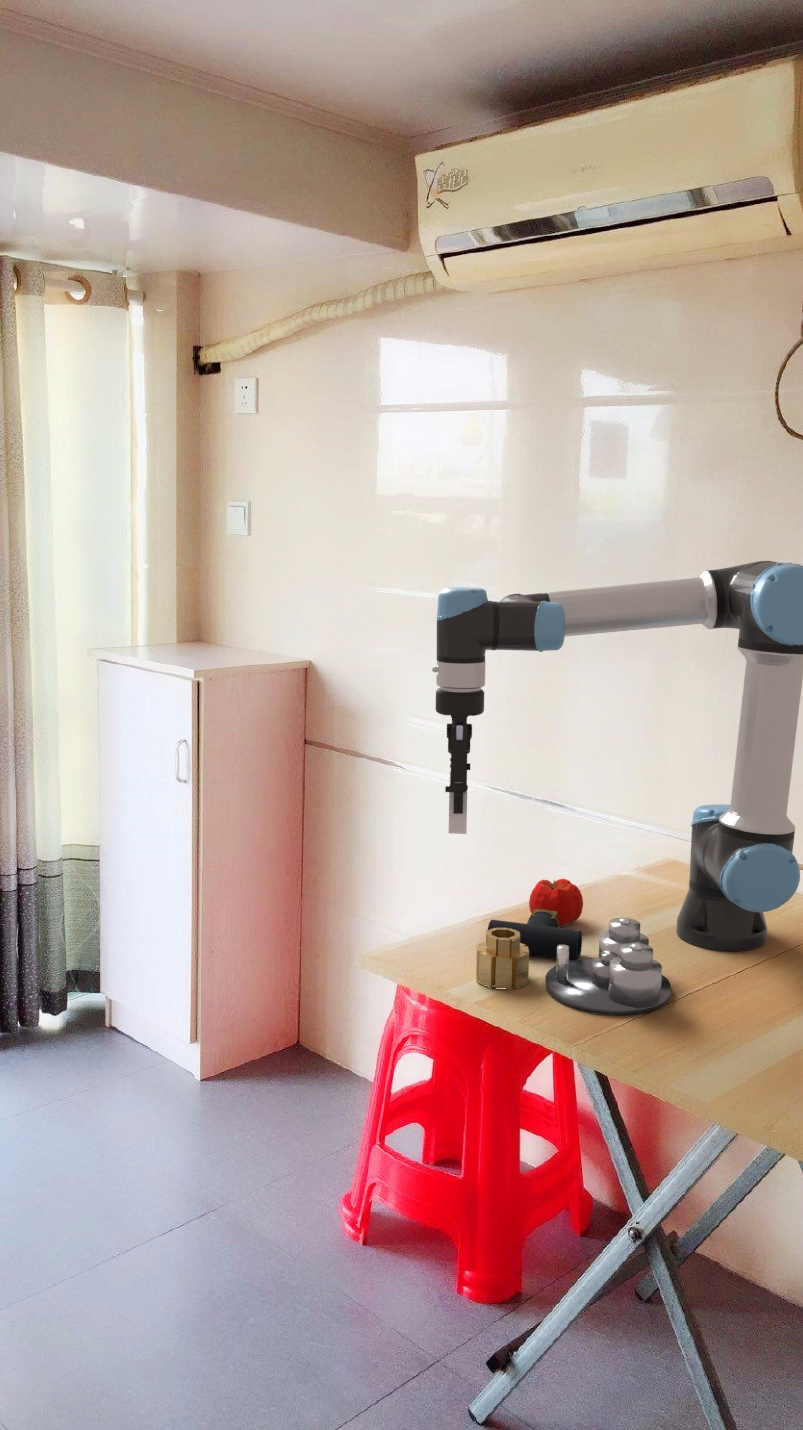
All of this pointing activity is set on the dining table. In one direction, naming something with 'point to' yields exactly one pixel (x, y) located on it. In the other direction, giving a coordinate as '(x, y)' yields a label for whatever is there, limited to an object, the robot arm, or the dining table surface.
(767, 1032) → the dining table surface
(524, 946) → the brass stepped collar
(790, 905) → the dining table surface
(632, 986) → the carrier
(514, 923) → the pipe connector
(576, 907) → the tomato
